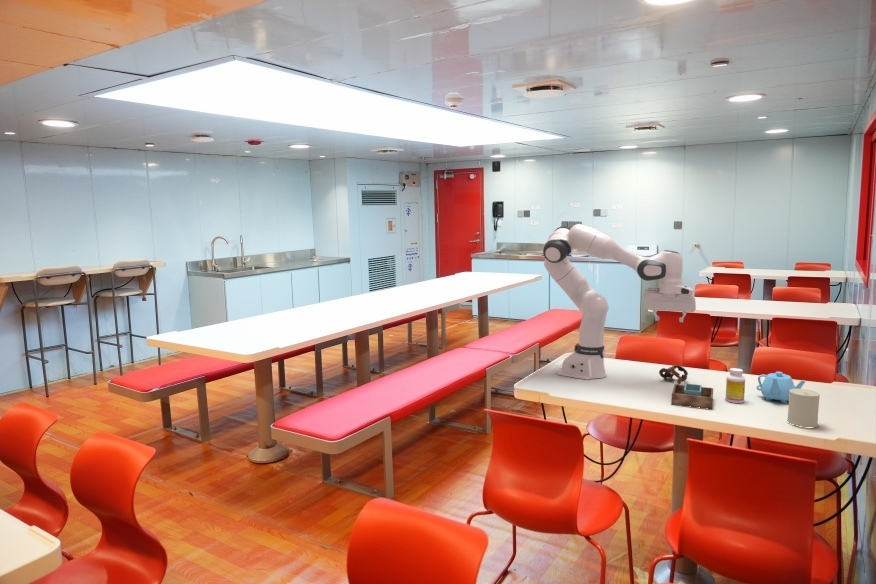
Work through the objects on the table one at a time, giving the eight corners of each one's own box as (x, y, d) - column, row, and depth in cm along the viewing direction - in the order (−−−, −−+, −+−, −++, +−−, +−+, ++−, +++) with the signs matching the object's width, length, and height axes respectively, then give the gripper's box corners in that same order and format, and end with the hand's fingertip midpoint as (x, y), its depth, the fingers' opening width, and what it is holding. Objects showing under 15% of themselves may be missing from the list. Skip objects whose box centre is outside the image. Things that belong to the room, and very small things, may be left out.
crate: (671, 404, 225) (671, 393, 225) (674, 394, 238) (674, 384, 237) (711, 409, 219) (712, 398, 218) (712, 399, 231) (713, 388, 231)
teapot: (807, 405, 222) (809, 376, 221) (772, 406, 222) (774, 377, 221) (783, 393, 238) (784, 367, 236) (750, 394, 237) (751, 367, 236)
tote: (700, 404, 223) (700, 391, 222) (683, 402, 225) (683, 389, 225) (701, 397, 231) (701, 385, 231) (684, 395, 234) (685, 383, 233)
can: (789, 426, 200) (792, 393, 198) (784, 418, 208) (786, 386, 207) (820, 429, 197) (823, 395, 195) (814, 421, 205) (816, 388, 204)
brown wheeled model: (676, 378, 264) (685, 365, 260) (683, 392, 256) (693, 379, 252) (652, 372, 263) (661, 359, 258) (659, 387, 255) (668, 373, 250)
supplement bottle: (745, 404, 224) (747, 372, 223) (726, 402, 227) (728, 370, 225) (742, 399, 231) (744, 368, 229) (724, 397, 233) (725, 366, 231)
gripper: (643, 288, 244) (642, 320, 246) (696, 290, 235) (694, 324, 237) (645, 287, 250) (644, 318, 251) (696, 289, 241) (695, 321, 242)
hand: (669, 321), depth 244 cm, fingers open, 8 cm apart
